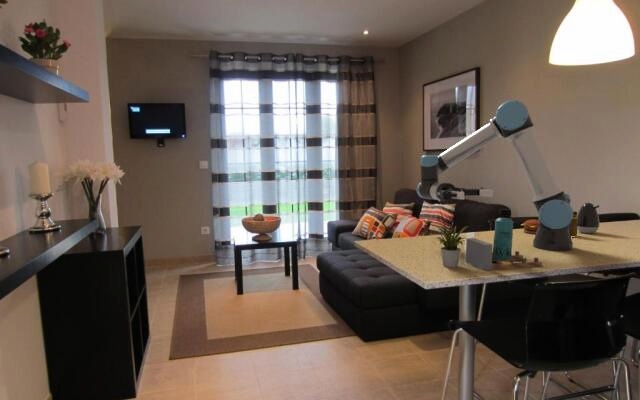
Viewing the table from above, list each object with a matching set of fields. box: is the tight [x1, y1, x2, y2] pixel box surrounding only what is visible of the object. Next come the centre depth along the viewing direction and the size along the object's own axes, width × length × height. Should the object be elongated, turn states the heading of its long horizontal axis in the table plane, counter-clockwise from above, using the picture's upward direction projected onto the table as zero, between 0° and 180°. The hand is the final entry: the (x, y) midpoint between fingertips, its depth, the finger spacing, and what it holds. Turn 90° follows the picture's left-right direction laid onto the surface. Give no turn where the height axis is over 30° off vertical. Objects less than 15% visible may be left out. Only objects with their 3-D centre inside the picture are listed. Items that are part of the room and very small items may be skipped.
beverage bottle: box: [492, 208, 514, 262], centre depth 163 cm, size 6×7×20 cm
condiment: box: [569, 210, 578, 236], centre depth 214 cm, size 7×8×12 cm
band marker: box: [492, 255, 511, 265], centre depth 162 cm, size 3×12×1 cm, turn 11°
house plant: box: [432, 222, 469, 268], centre depth 161 cm, size 14×14×16 cm
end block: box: [465, 237, 493, 271], centre depth 160 cm, size 3×12×9 cm, turn 11°
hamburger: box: [520, 219, 538, 235], centre depth 225 cm, size 9×10×7 cm
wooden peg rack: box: [492, 250, 543, 271], centre depth 163 cm, size 20×12×3 cm, turn 101°
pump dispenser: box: [577, 202, 600, 234], centre depth 222 cm, size 10×10×15 cm
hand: (478, 194), depth 169 cm, fingers open, 13 cm apart
